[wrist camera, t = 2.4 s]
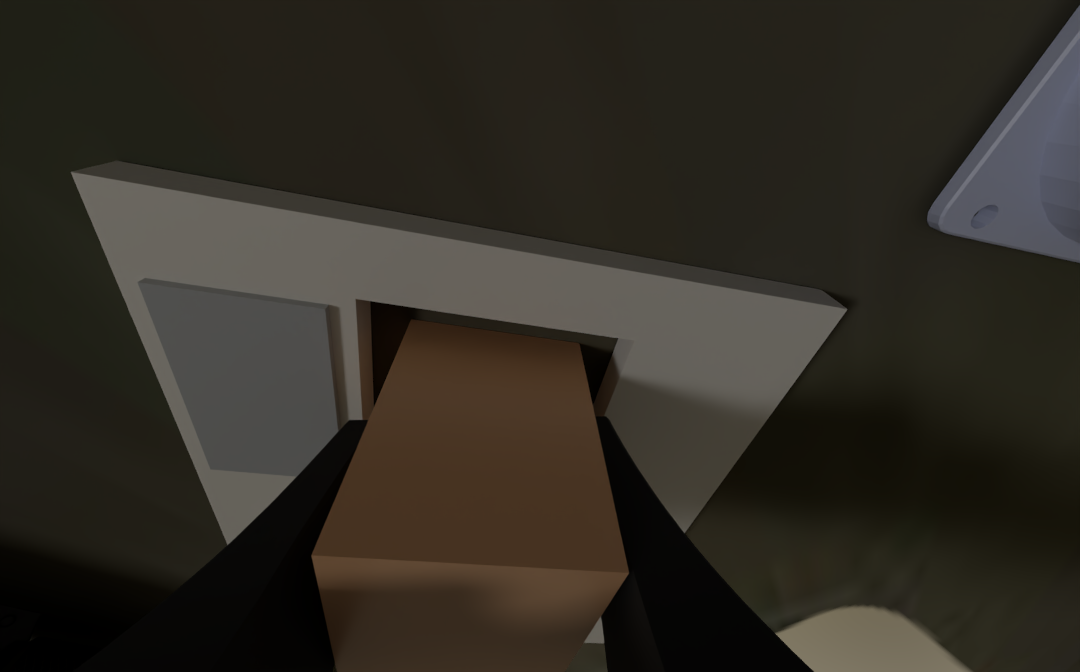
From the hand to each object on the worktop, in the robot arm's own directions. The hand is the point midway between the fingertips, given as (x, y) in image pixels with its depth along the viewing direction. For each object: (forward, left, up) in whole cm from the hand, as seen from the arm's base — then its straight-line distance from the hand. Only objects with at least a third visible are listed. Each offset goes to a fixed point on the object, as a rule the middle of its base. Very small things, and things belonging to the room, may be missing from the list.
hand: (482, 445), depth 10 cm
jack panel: (0, +5, -2) cm, 5 cm away
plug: (0, 0, -2) cm, 2 cm away
